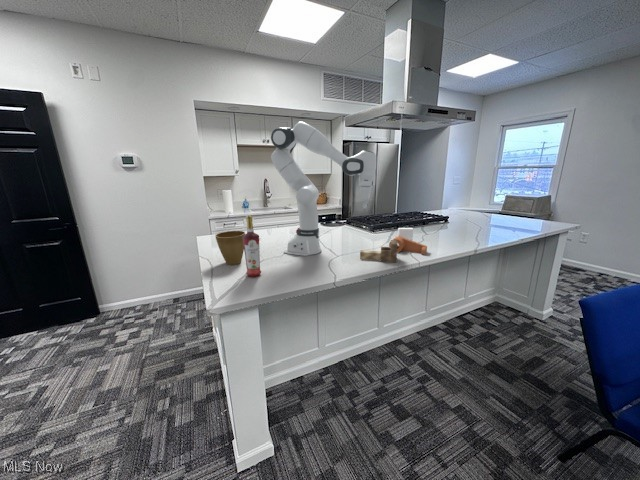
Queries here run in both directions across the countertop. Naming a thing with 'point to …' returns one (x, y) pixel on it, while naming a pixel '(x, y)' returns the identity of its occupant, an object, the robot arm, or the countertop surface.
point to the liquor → (251, 249)
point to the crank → (409, 245)
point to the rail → (370, 255)
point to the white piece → (405, 233)
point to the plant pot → (231, 246)
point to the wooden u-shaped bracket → (389, 252)
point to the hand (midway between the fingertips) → (365, 207)
